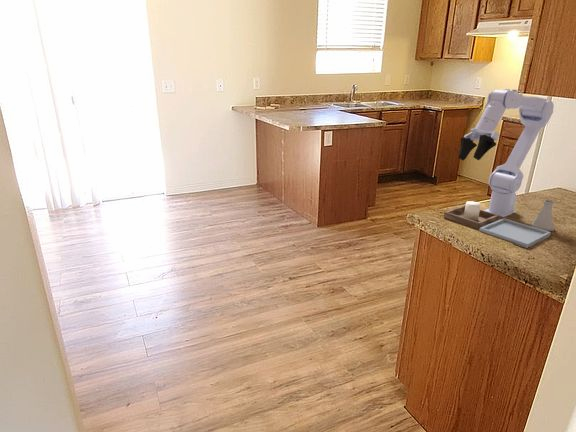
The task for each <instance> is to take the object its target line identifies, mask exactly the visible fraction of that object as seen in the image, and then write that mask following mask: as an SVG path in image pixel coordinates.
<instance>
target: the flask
mask: <svg viewBox="0 0 576 432" xmlns="http://www.w3.org/2000/svg"><path fill="white" fill-rule="evenodd" d="M554 204H555V201H554V200H551V199H544V200H543V206H542V208H541V210H540V211H539V213H538V214H537V215H536V217H535V218H534V220H533V221H532V223H531V226H532V227H535V228H538V229H541V230H545V231H548V232H554V231H555V228H554V220H553V213H552V212H553V205H554Z"/></svg>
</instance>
